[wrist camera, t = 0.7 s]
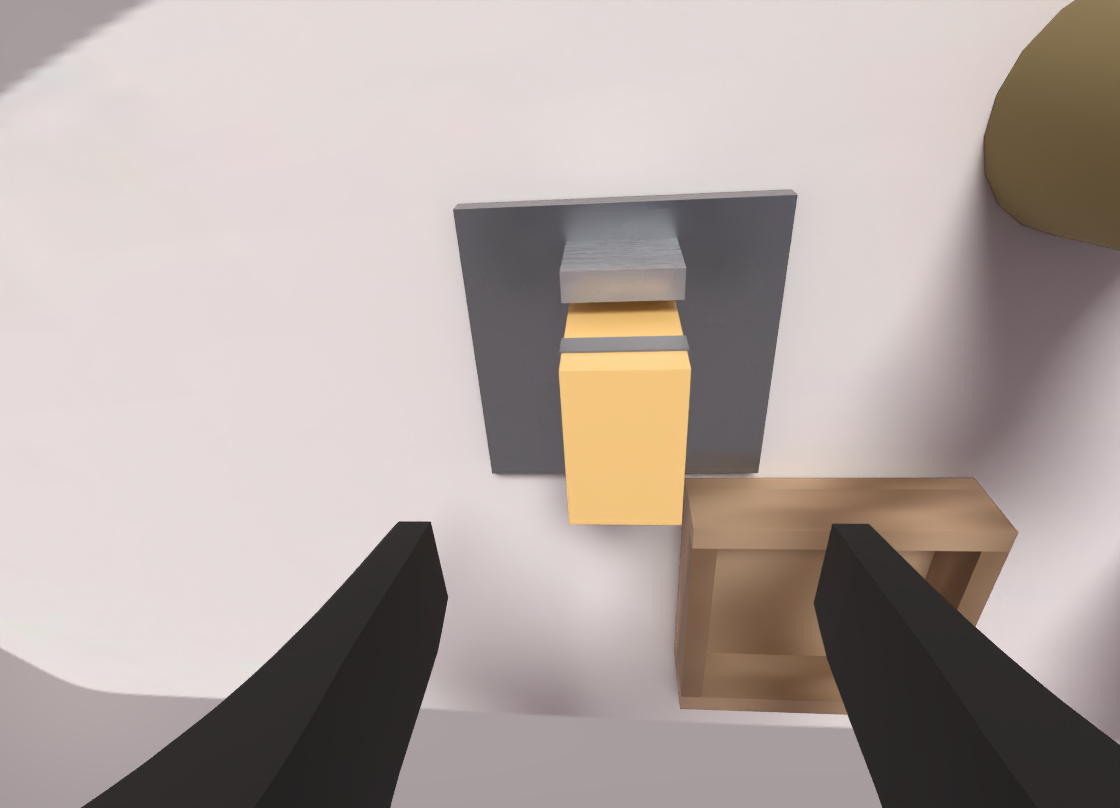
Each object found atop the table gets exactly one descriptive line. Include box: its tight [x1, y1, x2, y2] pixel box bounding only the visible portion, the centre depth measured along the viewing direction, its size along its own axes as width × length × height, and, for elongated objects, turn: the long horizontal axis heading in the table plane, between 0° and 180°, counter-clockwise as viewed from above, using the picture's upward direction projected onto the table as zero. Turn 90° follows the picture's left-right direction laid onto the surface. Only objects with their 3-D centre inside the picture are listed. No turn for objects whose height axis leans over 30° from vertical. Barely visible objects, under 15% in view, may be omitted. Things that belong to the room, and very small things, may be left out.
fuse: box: [559, 300, 691, 525], centre depth 16 cm, size 3×4×5 cm, turn 3°
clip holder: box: [453, 190, 797, 473], centre depth 17 cm, size 9×9×3 cm
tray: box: [674, 478, 1018, 715], centre depth 22 cm, size 10×10×3 cm
